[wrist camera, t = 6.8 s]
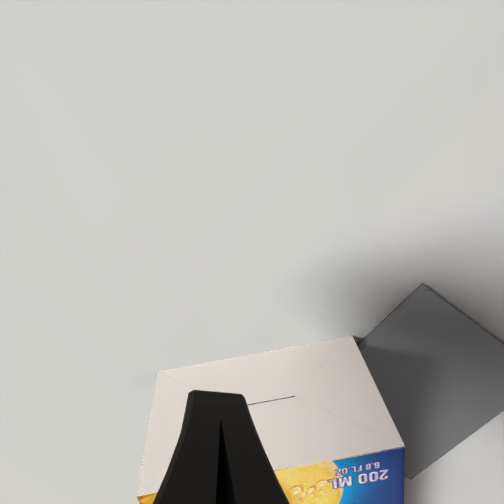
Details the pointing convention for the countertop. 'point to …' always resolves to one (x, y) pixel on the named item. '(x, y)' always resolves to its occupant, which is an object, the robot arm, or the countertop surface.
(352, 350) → the beverage box
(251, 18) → the countertop surface
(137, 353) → the countertop surface
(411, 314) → the mat
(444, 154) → the countertop surface
